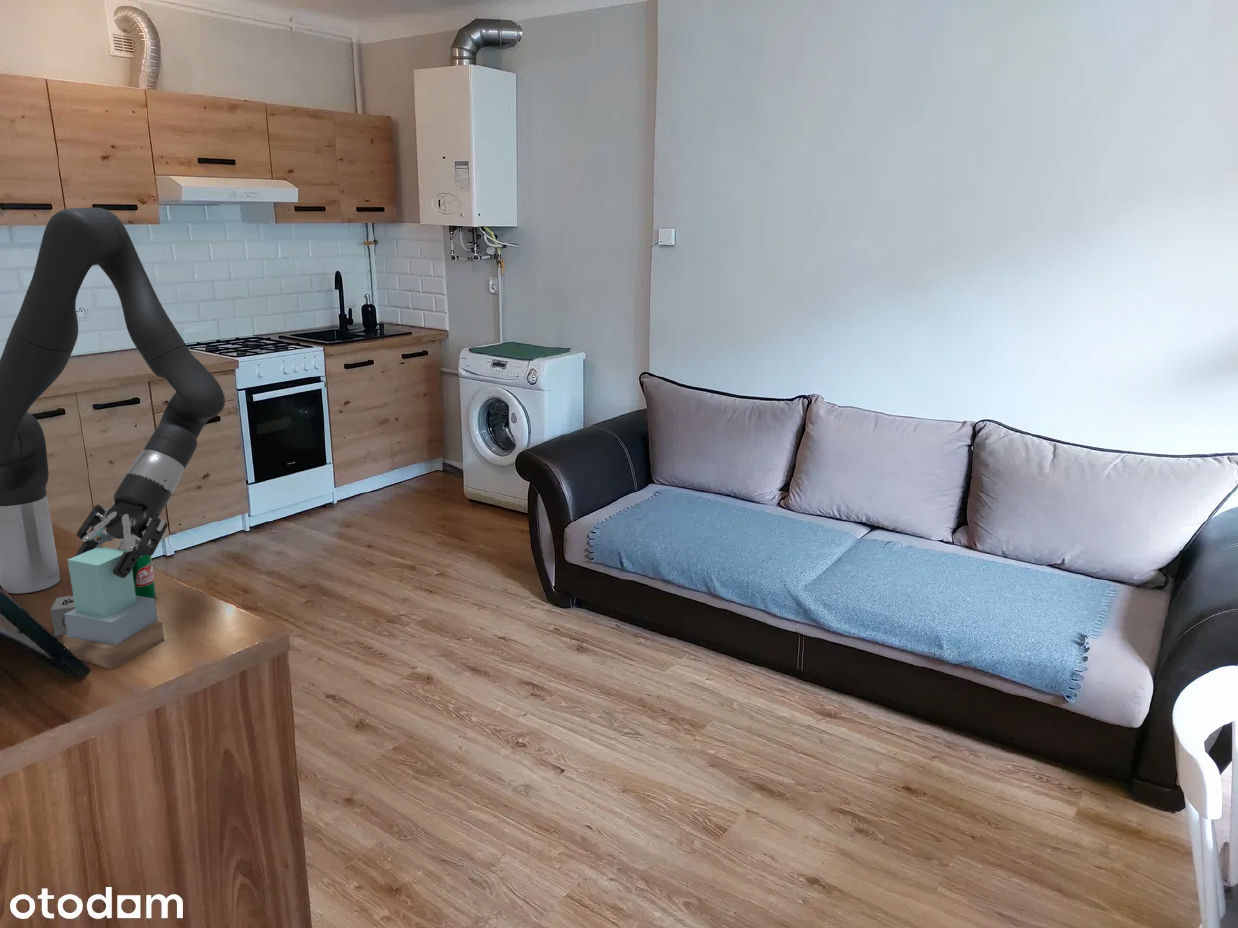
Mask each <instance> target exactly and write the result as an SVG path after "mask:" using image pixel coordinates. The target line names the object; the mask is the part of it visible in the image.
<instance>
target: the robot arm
mask: <svg viewBox="0 0 1238 928" xmlns="http://www.w3.org/2000/svg"><path fill="white" fill-rule="evenodd" d="M40 242H41V243H40V245H39V250H38V253H37V254H38V255H37V258H36V262H35V263H36V264H35V267H34V271H33V273H32V278H31V280H30V283H29V285H28V288H27V290H26V292H25V295H24V298H23V301H22V303H21V306H20V309H19V312H18V314H17V316H16V319H15V320H14V322H13V325H12V327H11V330H10V332H9V334H8V337H7V340H6V342H5V344H4V345H5V346H4V349H3V350H2V354H1V357H0V587H1V589H2V588H3V589H4V590H6V591H7V592H6V593H8V594H29V593H34V592H39V591H42V590H46V589H49V588H51V587H53V586H55V585H56V584H58V583H59V582H60V581H61V576H60V570H59V564H58V563H59V562H58V557H57V556H58V555H57V550H56V543H55V542H56V541H55V537H54V529H53V524H52V518H51V512H50V506H49V499H48V495H47V494H48V493H47V484H48V483H49V482H48V481H49V477H50V476H49V475H50V474H49V463H48V452H47V445H46V444H47V443H46V437H45V434H44V430H43V428H42V426H41V424H40V422H39V421H38V419H37V418H36V417H35V416H34V415H32V414H31V413H29V412H28V411H29V410H30V408H31V406H32V405H33V404H34V403H35V402H36V401H37V400H38V399H39V398H40V396H42V395H43V394H44V393H45V392H46V391H47V389H49V387H50V386H51V385H52V384H53V383H54V382H55V381H56V380H57V379H58V378H59V376H60V375H61V374H62V372H64V371H65V370H64V369H65V368H66V366H67V365H68V363H69V360H70V357H71V355H72V354H73V351H74V348H75V346H76V344H77V341H78V336H79V321H78V314H77V307H76V303H77V302H76V301H77V297H78V295H79V291H80V289H81V286H82V284H83V282H84V280H85V278H86V276H87V274H88V272H89V271H90V269H91V268H92V267H93V266H99V267H100V269H101V270H102V271H103V272H104V274H105V275H106V276H107V277H108V278H109V280H110V281H111V283H112V285H113V287H114V288H115V291H116V292H117V295H118V298H119V300H120V304H121V308H122V312H123V317H124V322H125V326H126V330H127V332H128V335H129V337H130V339H131V341H132V343H133V345H134V346H135V347H136V349H137V351H138V352H139V354H140V355H141V357H142V358H143V360H144V361H145V364H147V365H148V367H149V369H150V370H151V372H153V374H154V375H156V376H157V377H158V378H162V379H163V378H164V379H165V380H166V381H167V382H168V383H169V384H170V386H171V387H172V389H174V391H175V393H174V394H173V395H172V396H171V398H170V399H169V402H168V403H167V406H166V407H165V410H164V412H163V414H162V417H161V419H160V421H159V424H158V426H157V428H156V430H154V432H153V434H152V435H151V436H150V438H149V440H148V441H147V443H146V445H145V446H144V448H143V450H142V451H141V452H140V454H139V455H138V456H137V458H136V459H135V460H134V461H133V463H132V464H131V466H130V468H129V469H128V471H127V473H126V474H125V476H124V477H123V479H122V481H121V482H120V484H119V486H118V488H117V489H116V491H115V492H114V494H113V499H114V504H113V505H111V507H110V508H109V509H108V508H105V507H103V506H102V505H100V504H96V505H95V506H94V507H93V508H92V509H91V511H90V513H89V514H88V516H87V517H86V518H85V520H84V521H83V523H82V524H81V526H80V527H79V529H78V531H77V532H76V537H78V538H79V539H80V540H81V541H82V544H81V546H80V547H79V549H78V550H77V551H76V554H75V555H74V557H75V556H78V555H80V554H82V553H85V552H87V551H90V550H92V549H95V548H97V547H99V546H101V545H103V544H104V543H106V542H111V541H113V540H114V539H119V540H122V539H125V540H126V550H127V552H124V553H123V554H122V556H121V558H120V559H119V561H118V563H117V565H116V566H115V568H114V570H113V574H114V575H116V576H118V577H120V578H125V577H126V576H127V575H128V574H129V573H130V572H131V570H132V568H133V566H134V565H135V563H136V561H137V559H138V558H140V557H142V556H143V555H148V556H151V557H152V556H153V555H154V553H155V552H156V550H157V548H158V546H159V544H160V542H161V540H162V537H163V536H164V534H165V532H166V530H167V528H168V522H166V521H165V520H163V519H162V518H160V516H161V514H162V513H163V510H164V509H165V507H166V506H167V503H168V502H169V500H170V498H171V497H172V495H173V494H174V492H175V490H176V488H177V487H178V484H179V483H180V481H181V479H182V476H183V473H184V471H185V469H186V467H187V466H188V464H189V462H190V460H191V459H192V457H193V455H194V453H195V451H196V448H197V445H198V437H199V436H200V434H201V431H202V430H203V428H204V427H205V425H206V424H207V422H208V421H209V420H212V419H213V418H215V417H216V416H219V414H220V413H222V411H223V410H224V407H225V403H226V397H225V394H224V393H225V392H224V391H223V389H222V387H221V384H219V382H218V380H217V379H216V378H215V376H213V375H212V373H211V372H210V371H209V370H208V369H207V368H206V366H204V365H203V364H202V362H200V361H199V359H198V358H196V357H195V356H194V355H193V353H192V352H191V350H190V349H189V346H187V343H186V342H185V341H184V338H183V337H182V335H181V334H180V333H179V331H178V330H177V328H176V327H175V325H174V323H173V322H172V320H171V318H170V317H169V316H168V314H167V312H166V310H165V309H164V307H163V305H162V303H161V302H160V301H161V300H159V298H158V295H157V293H156V291H155V289H154V288H153V285H152V282H151V281H150V278H149V276H148V275H147V272H146V270H145V268H144V266H143V264H142V261H141V259H140V257H139V254H138V252H137V250H136V248H135V246H134V245H135V244H134V243H133V240H132V238H131V236H130V235H129V232H128V230H127V229H126V226H125V225H124V223H123V222H122V220H121V219H120V218H119V217H118V216H117V215H116V214H115V213H114V212H112V211H110V210H108V209H106V208H105V209H104V208H102V207H92V206H91V207H72V208H64V209H61V210H59V211H57V212H56V213H54V214H53V215H51V217H50V219H49V220H48V222H47V223H46V226H45V228H44V231H43V235H42V239H41V241H40ZM90 527H91V529H90ZM89 529H90V530H89ZM88 531H89V532H88ZM148 542H149V543H150V544H149V546H147V544H148Z"/></svg>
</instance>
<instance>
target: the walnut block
mask: <svg viewBox="0 0 1238 928" xmlns="http://www.w3.org/2000/svg"><path fill="white" fill-rule="evenodd" d="M164 636H165V635H164V626H163V622H162V621H159V620H158V621H156V622H154V623H152V624H151V625H149V626H147V627H146V628H144V629H142V630H141V631H139V632H137V633H135V634H134V635H132V636H130V637H129V638H127V639H125V640H123V641H122V642H120V643H118V644H117V645H110V644H105V643H99V642H94V641H88V640H82V639H77V638H71V637H68V634H66V635H63V636H62V640H63V641H62V642H63V647H64V646H65V647H66V648H67V649H70V650H71V651H72V652H73V653H74V654H75V655H76V656H77V657H79V658H80V659H81V660H83V661H82V662H85V661H86V662H85V663H88V662H90V663H89V664H92V663H93V664H92V665H95V664H96V665H95V666H100V667H103V668H106V669H110V670H113V669H114V668H117V667H118V666H120V665H122V664H125V663H126V662H128V661H130V660H132V659H133V658H136V657H137V656H140V655H141V654H143V653H145V652H147V651H149V650H152V649H153V648H155V647H156V646H159V645H160V644H162V643H164V642H165V637H164ZM148 649H149V650H148ZM146 650H147V651H146ZM81 660H80V661H81Z"/></svg>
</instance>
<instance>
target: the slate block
mask: <svg viewBox="0 0 1238 928" xmlns="http://www.w3.org/2000/svg"><path fill="white" fill-rule="evenodd" d="M64 615H65V622H66V628H67V634H68V637H71V638H77V639H82V640H88V641H94V642H99V643H105V644H110V645H117V644H118V643H120V642H122V641H123V640H125V639H127V638H129V637H130V636H132V635H134V634H135V633H137V632H139V631H141V630H142V629H144V628H146V627H147V626H149V625H151V624H152V623H154V622H156V621H159V620H158V612H157V605H156V598H148V597H142V596H136V603H134V604H132V605H130V606H128V607H126V608H124V609H123V610H121V611H119V612H117V613H115V614H113V615H111V616H109V617H107V618H103V617H98V616H94V615H89V614H84V613H80V612H76V609H74V610H72V611H70V612H68V613H66V614H64Z"/></svg>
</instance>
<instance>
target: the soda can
mask: <svg viewBox="0 0 1238 928" xmlns="http://www.w3.org/2000/svg"><path fill="white" fill-rule="evenodd" d="M118 544H119V545H118V546H117V549H118V550H124V551H127V550H126V540H125V539H119V543H118ZM149 544H150V541H149V542H148V544H147V546H149ZM132 573H133V580H134V587H135V594H136V596H142V597H148V598H154V599H156V598H157V591H156V583H155V576H154V568H153V561H152V555H151V556H148V555H143V556H142V557H140V558H138V559H137V561H136V563H135V565H134V566H133V568H132Z"/></svg>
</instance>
